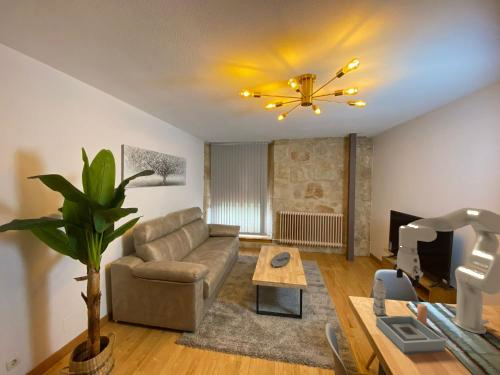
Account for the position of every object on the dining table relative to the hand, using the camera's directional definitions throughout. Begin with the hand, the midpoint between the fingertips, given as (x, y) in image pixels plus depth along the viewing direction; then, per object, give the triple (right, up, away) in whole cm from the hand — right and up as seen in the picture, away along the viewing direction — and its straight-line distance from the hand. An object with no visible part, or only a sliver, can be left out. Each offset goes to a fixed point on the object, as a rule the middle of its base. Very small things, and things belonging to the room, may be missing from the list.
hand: (407, 281), depth 110 cm
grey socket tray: (-5, -24, -7) cm, 26 cm away
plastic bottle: (-8, -24, +12) cm, 28 cm away
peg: (+10, -24, +3) cm, 26 cm away
